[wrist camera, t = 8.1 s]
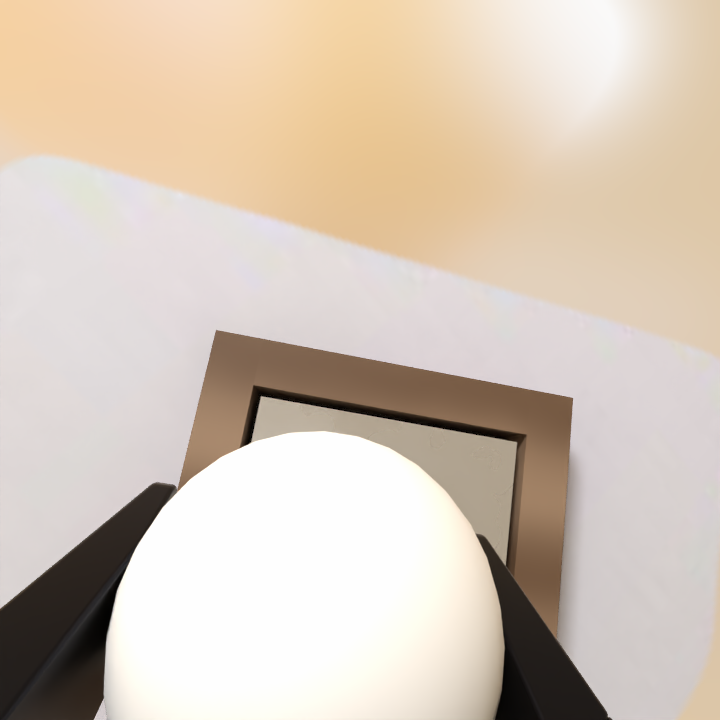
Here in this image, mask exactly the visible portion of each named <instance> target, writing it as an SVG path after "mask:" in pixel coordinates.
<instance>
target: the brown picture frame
mask: <svg viewBox="0 0 720 720" xmlns="http://www.w3.org/2000/svg"><path fill="white" fill-rule="evenodd" d="M260 394H263V395H268V396H274V397H280V398H285V399H291V400H296V401H302V402H307V403H313V404H318V405H324V406H330V407H335V408H341V409H346V410H352V411H357V412H363V413H369V414H374V415H380V416H385V417H391V418H396V419H402V420H407V421H413V422H419V423H424V424H430V425H435V426H441V427H446V428H452V429H457V430H463V431H469V432H474V433H480V434H485V435H491V436H496V437H499V439H502V440H507V441H513V442H517V448H516V459H515V470H514V481H513V491H512V502H511V513H510V524H509V535H508V545H507V556H506V567H507V568H508V570H509V571H510V573H511V574H512V576H513V577H514V579H515V580H516V581H517V583H518V584H519V586H520V587H521V589H522V590H523V592H524V593H525V594H526V596H527V597H528V599H529V600H530V602H531V603H532V605H533V606H534V607H535V609H536V610H537V612H538V613H539V615H540V616H541V618H542V619H543V620H544V622H545V623H546V625H547V626H548V628H549V629H550V631H551V632H552V633H553V635H554V636H555V638H557V624H558V609H559V595H560V580H561V565H562V551H563V536H564V522H565V507H566V492H567V478H568V463H569V449H570V434H571V419H572V405H573V398H570V397H565V396H560V395H555V394H549V393H544V392H539V391H534V390H528V389H523V388H518V387H512V386H507V385H502V384H497V383H491V382H486V381H481V380H476V379H470V378H465V377H460V376H455V375H449V374H444V373H439V372H434V371H428V370H423V369H418V368H413V367H407V366H402V365H397V364H391V363H386V362H381V361H376V360H370V359H365V358H360V357H355V356H349V355H344V354H339V353H334V352H328V351H323V350H318V349H313V348H307V347H302V346H297V345H291V344H286V343H281V342H276V341H270V340H265V339H260V338H255V337H249V336H244V335H239V334H234V333H228V332H223V331H218V330H216V333H215V337H214V341H213V345H212V349H211V353H210V358H209V362H208V366H207V370H206V374H205V378H204V382H203V386H202V391H201V395H200V399H199V403H198V407H197V411H196V415H195V420H194V424H193V428H192V432H191V436H190V440H189V444H188V448H187V453H186V457H185V461H184V465H183V469H182V473H181V477H180V482H179V486H178V490H177V492H178V491H179V490H180V489H181V488H182V487H183V486H184V485H185V484H186V483H187V482H188V481H189V480H190V479H191V478H193V477H194V476H195V475H197V474H198V473H200V472H201V471H202V470H204V469H205V468H207V467H208V466H209V465H211V464H212V463H214V462H215V461H217V460H218V459H219V458H221V457H222V456H224V455H227V454H229V453H231V452H233V451H235V450H238V449H240V448H242V447H244V446H246V445H248V444H249V442H250V437H251V432H252V428H253V423H254V418H255V414H256V409H257V404H258V400H259V395H260Z"/></svg>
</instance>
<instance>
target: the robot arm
mask: <svg viewBox="0 0 720 720" xmlns="http://www.w3.org/2000/svg"><path fill="white" fill-rule="evenodd" d="M176 493H177V488H176V486H175V485H172V484H166V483H160V482H156V483H153V484H152V485H150V486H149V487H148V488H147V489H145V490H144V491H143V492H142V493H140V494H139V495H138V496H137V497H136V498H134V499H133V500H132V501H131V502H130V503H128V504H127V505H126V506H125V507H123V508H122V509H121V510H120V511H119V512H117V513H116V514H115V515H114V516H113V517H111V518H110V519H109V520H108V521H106V522H105V523H104V524H103V525H102V526H100V527H99V528H98V529H97V530H96V531H94V532H93V533H92V534H91V535H89V536H88V537H87V538H86V539H85V540H83V541H82V542H81V543H80V544H79V545H77V546H76V547H75V548H74V549H72V550H71V551H70V552H69V553H68V554H66V555H65V556H64V557H63V558H62V559H60V560H59V561H58V562H57V563H55V564H54V565H53V566H52V567H51V568H49V569H48V570H47V571H46V572H45V573H43V574H42V575H41V576H40V577H38V578H37V579H36V580H35V581H34V582H32V583H31V584H30V585H29V586H28V587H26V588H25V589H24V590H23V591H21V592H20V593H19V594H18V595H17V596H15V597H14V598H13V599H12V600H10V601H9V602H8V603H7V604H6V605H4V606H3V607H2V608H1V609H0V720H94V718H95V716H96V714H97V711H98V709H99V707H100V705H101V703H102V701H103V699H104V673H105V654H106V635H107V630H108V626H109V622H110V618H111V614H112V609H113V605H114V601H115V597H116V593H117V590H118V587H119V585H120V583H121V580H122V578H123V576H124V574H125V571H126V569H127V567H128V565H129V562H130V560H131V558H132V556H133V553H134V551H135V549H136V547H137V546H138V544H139V542H140V541H141V539H142V538H143V536H144V535H145V533H146V532H147V530H148V529H149V527H150V526H151V524H152V523H153V521H154V520H155V518H156V517H157V516H158V514H159V513H160V511H161V510H162V508H163V507H164V506H165V505H166V504H167V503H168V502H169V501H170V500H171V499H172V498H173V497H174V495H175V494H176ZM475 534H476V533H475ZM476 536H477V538H478V540H479V542H480V544H481V546H482V549H483V551H484V553H485V555H486V557H487V559H488V563H489V566H490V570H491V573H492V577H493V580H494V584H495V587H496V591H497V594H498V599H499V603H500V608H501V618H502V627H503V637H504V646H505V651H504V667H503V682H502V692H501V696H500V700H499V704H498V709H497V713H496V717H495V720H612V719H611V718H610V717H608V714H607V712H606V710H605V709H604V707H603V706H602V704H601V703H600V701H599V700H598V699H597V697H596V696H595V694H594V693H593V691H592V690H591V688H590V687H589V686H588V684H587V683H586V681H585V680H584V678H583V677H582V675H581V674H580V673H579V671H578V670H577V668H576V667H575V665H574V664H573V662H572V661H571V660H570V658H569V657H568V655H567V654H566V652H565V651H564V649H563V648H562V646H561V645H560V644H559V642H558V641H557V639H556V638H555V636H554V635H553V633H552V632H551V631H550V629H549V628H548V626H547V625H546V623H545V622H544V620H543V619H542V618H541V616H540V615H539V613H538V612H537V610H536V609H535V607H534V606H533V605H532V603H531V602H530V600H529V599H528V597H527V596H526V594H525V593H524V592H523V590H522V589H521V587H520V586H519V584H518V583H517V581H516V580H515V579H514V577H513V576H512V574H511V573H510V571H509V570H508V568H507V567H506V566H505V564H504V563H503V561H502V560H501V558H500V557H499V555H498V554H497V553H496V551H495V550H494V548H493V547H492V545H491V544H490V542H489V541H488V539H487V538H486V537H485V536H483V535H481V534H476Z"/></svg>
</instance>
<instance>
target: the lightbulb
mask: <svg viewBox="0 0 720 720" xmlns="http://www.w3.org/2000/svg"><path fill="white" fill-rule="evenodd" d="M504 651H505V646H504V637H503V627H502V618H501V608H500V603H499V599H498V594H497V591H496V587H495V584H494V580H493V577H492V573H491V570H490V566H489V563H488V559H487V557H486V555H485V553H484V551H483V549H482V546H481V544H480V542H479V540H478V538H477V536H476V534H475V532H474V530H473V528H472V526H471V524H470V523H469V521H468V520H467V519H466V517H465V516H464V515H463V513H462V512H461V511H460V509H459V508H458V507H457V505H456V504H455V503H454V501H453V500H452V499H451V497H450V496H449V495H448V493H447V492H446V491H445V490H444V489H443V488H442V487H441V486H440V485H439V484H438V483H437V482H436V481H435V480H433V479H432V478H431V477H430V476H429V475H428V474H427V473H426V472H425V471H424V470H423V469H421V468H420V467H419V466H418V465H416V464H415V463H413V462H412V461H410V460H408V459H407V458H405V457H403V456H402V455H400V454H399V453H397V452H395V451H394V450H392V449H390V448H388V447H385V446H383V445H380V444H377V443H375V442H372V441H369V440H366V439H364V438H361V437H358V436H352V435H346V434H339V433H332V432H326V431H319V432H297V433H287V434H283V435H279V436H275V437H271V438H267V439H263V440H259V441H255V442H253V443H251V444H248V445H246V446H244V447H242V448H240V449H238V450H235V451H233V452H231V453H229V454H227V455H224V456H222V457H221V458H219V459H218V460H217V461H215V462H214V463H212V464H211V465H209V466H208V467H207V468H205V469H204V470H202V471H201V472H200V473H198V474H197V475H195V476H194V477H193V478H191V479H190V480H189V481H188V482H187V483H186V484H185V485H184V486H183V487H182V488H181V489H180V490H179V491H178V492H177V493H176V494H175V495H174V497H173V498H172V499H171V500H170V501H169V502H168V503H167V504H166V505H165V506H164V507H163V508H162V510H161V511H160V513H159V514H158V516H157V517H156V518H155V520H154V521H153V523H152V524H151V526H150V527H149V529H148V530H147V532H146V533H145V535H144V536H143V538H142V539H141V541H140V542H139V544H138V546H137V547H136V549H135V551H134V553H133V556H132V558H131V560H130V562H129V565H128V567H127V569H126V571H125V574H124V576H123V578H122V580H121V583H120V585H119V587H118V590H117V593H116V597H115V601H114V605H113V609H112V614H111V618H110V622H109V626H108V630H107V635H106V654H105V673H104V701H105V708H106V715H107V720H495V717H496V713H497V709H498V704H499V700H500V696H501V692H502V682H503V667H504Z"/></svg>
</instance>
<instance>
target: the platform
mask: <svg viewBox="0 0 720 720" xmlns="http://www.w3.org/2000/svg"><path fill="white" fill-rule="evenodd" d="M319 431H326V432H332V433H339V434H346V435H352V436H358V437H361V438H364V439H366V440H369V441H372V442H375V443H377V444H380V445H383V446H385V447H388V448H390V449H392V450H394V451H395V452H397V453H399V454H400V455H402V456H403V457H405V458H407V459H408V460H410V461H412V462H413V463H415V464H416V465H418V466H419V467H420V468H421V469H423V470H424V471H425V472H426V473H427V474H428V475H429V476H430V477H431V478H432V479H433V480H435V481H436V482H437V483H438V484H439V485H440V486H441V487H442V488H443V489H444V490H445V491H446V492H447V493H448V495H449V496H450V497H451V499H452V500H453V501H454V503H455V504H456V505H457V507H458V508H459V509H460V511H461V512H462V513H463V515H464V516H465V517H466V519H467V520H468V521H469V523H470V524H471V526H472V528H473V530H474V532H475V533H476V534H481V535H483V536H485V537H486V538H487V539H488V541H489V542H490V544H491V545H492V547H493V548H494V550H495V551H496V553H497V554H498V555H499V557H500V558H501V560H502V561H503V563H504V564H505V566H506V556H507V545H508V535H509V524H510V513H511V502H512V491H513V481H514V470H515V459H516V448H517V442H513V441H507V440H502V439H496V438H491V437H485V436H480V435H474V434H469V433H463V432H457V431H452V430H446V429H441V428H435V427H430V426H424V425H418V424H413V423H407V422H402V421H396V420H391V419H385V418H379V417H374V416H368V415H363V414H357V413H352V412H346V411H340V410H335V409H329V408H324V407H318V406H313V405H307V404H301V403H296V402H290V401H285V400H279V399H274V398H268V397H263V396H261V399H260V403H259V408H258V413H257V417H256V422H255V427H254V431H253V436H252V441H251V443H253V442H255V441H259V440H263V439H267V438H271V437H275V436H279V435H283V434H287V433H297V432H319Z"/></svg>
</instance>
